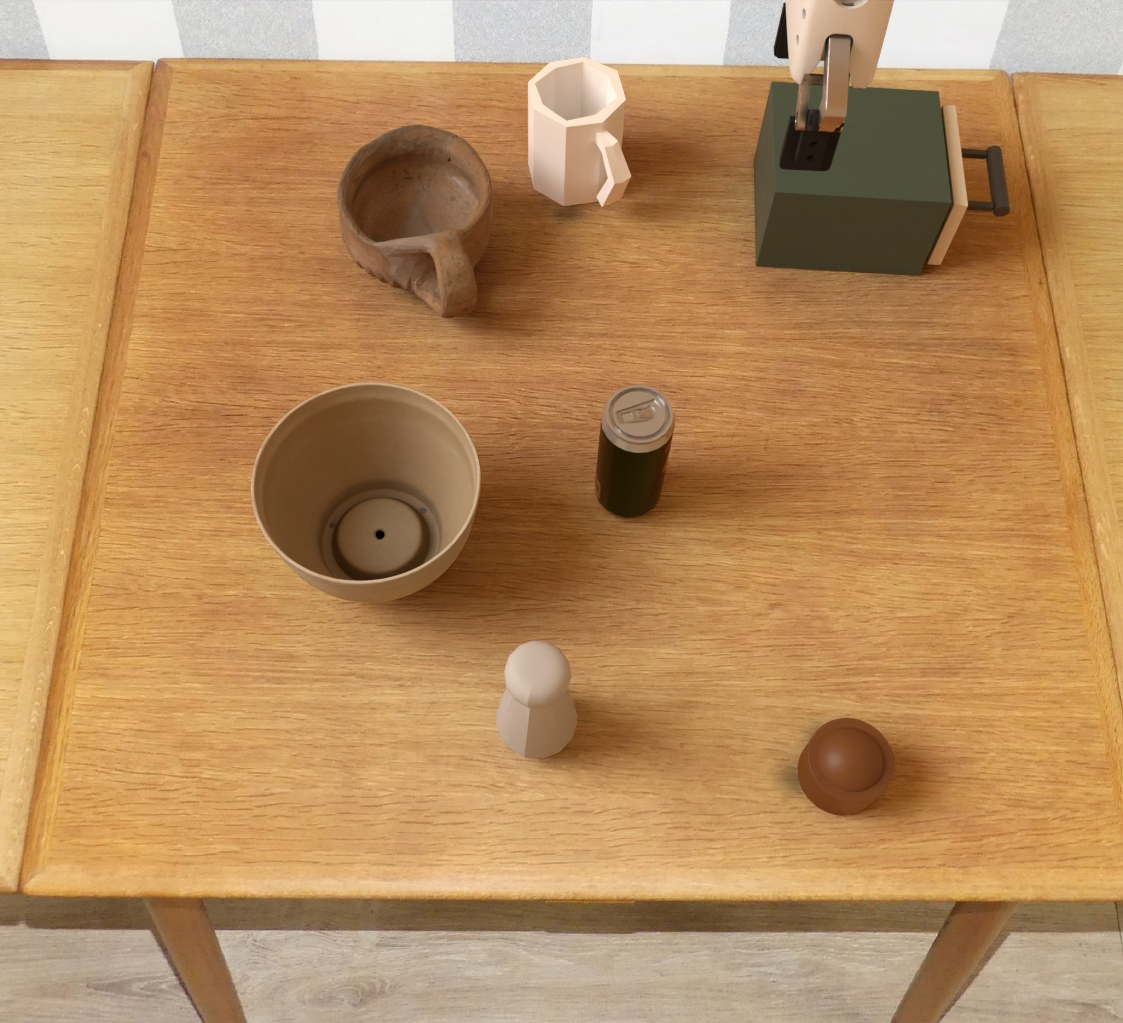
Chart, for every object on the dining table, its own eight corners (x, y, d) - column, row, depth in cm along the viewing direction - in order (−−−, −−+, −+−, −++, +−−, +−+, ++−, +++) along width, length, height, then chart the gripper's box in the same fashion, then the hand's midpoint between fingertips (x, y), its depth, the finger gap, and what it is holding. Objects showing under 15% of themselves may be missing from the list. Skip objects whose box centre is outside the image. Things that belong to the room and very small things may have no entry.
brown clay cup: (569, 274, 107) (544, 214, 97) (442, 373, 106) (405, 323, 97) (455, 146, 113) (422, 78, 103) (335, 239, 112) (290, 180, 103)
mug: (511, 161, 114) (509, 80, 105) (588, 125, 116) (592, 43, 108) (581, 247, 110) (585, 170, 101) (659, 208, 112) (670, 129, 103)
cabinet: (908, 169, 115) (939, 91, 106) (919, 276, 109) (952, 202, 101) (753, 159, 115) (771, 81, 106) (755, 266, 109) (774, 192, 101)
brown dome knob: (878, 736, 90) (896, 714, 85) (883, 818, 87) (903, 799, 82) (796, 730, 90) (810, 708, 85) (798, 812, 87) (813, 794, 82)
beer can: (603, 528, 97) (612, 452, 86) (587, 470, 99) (593, 389, 89) (668, 514, 98) (685, 438, 87) (650, 457, 100) (665, 376, 89)
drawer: (980, 171, 114) (1009, 108, 107) (993, 268, 109) (1025, 209, 102) (785, 159, 114) (801, 96, 107) (788, 256, 109) (806, 196, 102)
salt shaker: (481, 717, 90) (474, 655, 78) (545, 675, 91) (547, 608, 80) (526, 782, 87) (526, 728, 76) (591, 738, 89) (600, 678, 77)
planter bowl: (298, 664, 91) (271, 607, 81) (263, 480, 98) (234, 408, 88) (507, 612, 93) (505, 551, 84) (459, 436, 100) (451, 361, 91)
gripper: (952, -18, 60) (867, 216, 75) (920, -232, 68) (849, 19, 83) (799, -26, 60) (745, 210, 75) (785, -239, 68) (739, 13, 83)
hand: (800, 110), depth 79 cm, fingers open, 9 cm apart
